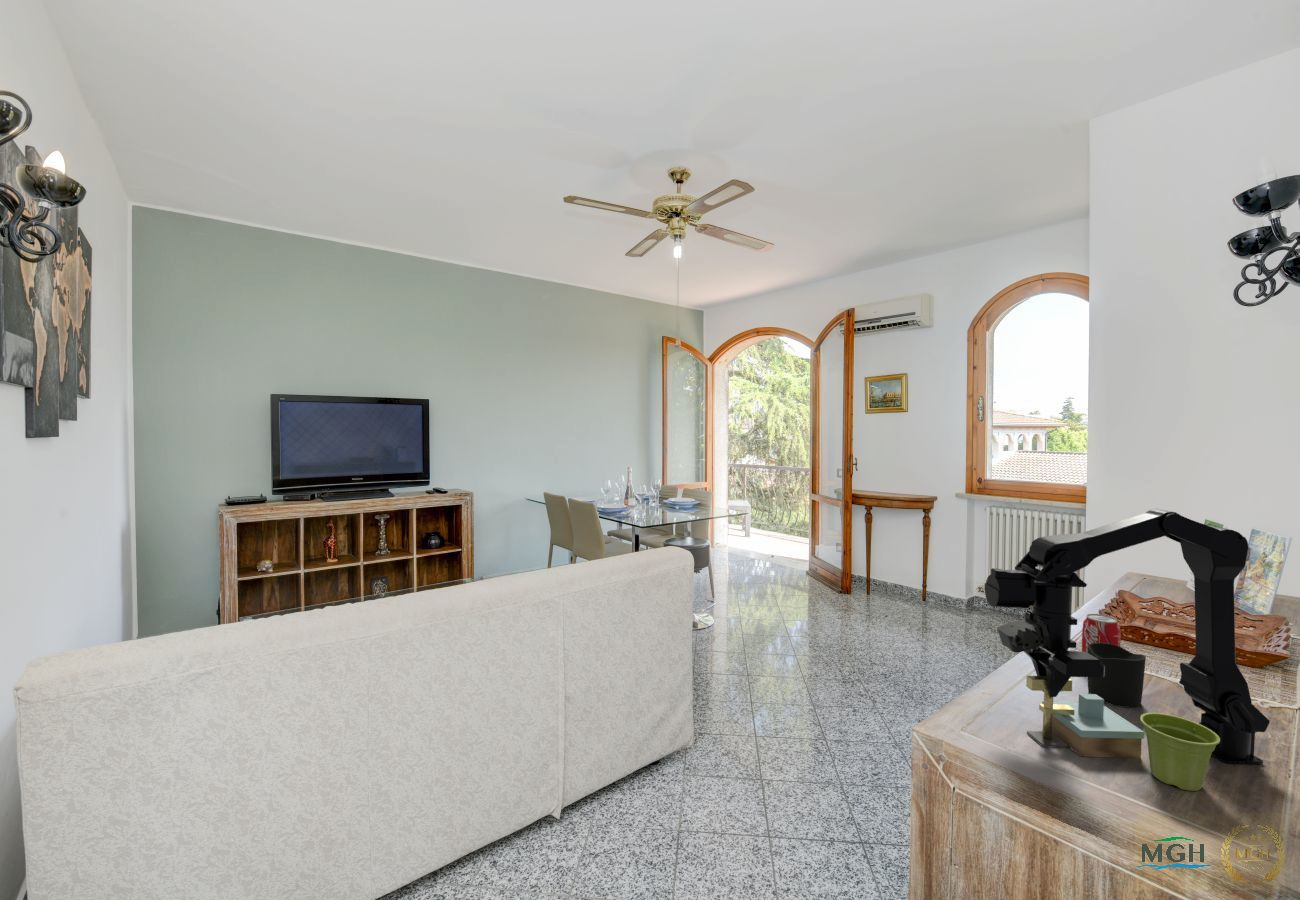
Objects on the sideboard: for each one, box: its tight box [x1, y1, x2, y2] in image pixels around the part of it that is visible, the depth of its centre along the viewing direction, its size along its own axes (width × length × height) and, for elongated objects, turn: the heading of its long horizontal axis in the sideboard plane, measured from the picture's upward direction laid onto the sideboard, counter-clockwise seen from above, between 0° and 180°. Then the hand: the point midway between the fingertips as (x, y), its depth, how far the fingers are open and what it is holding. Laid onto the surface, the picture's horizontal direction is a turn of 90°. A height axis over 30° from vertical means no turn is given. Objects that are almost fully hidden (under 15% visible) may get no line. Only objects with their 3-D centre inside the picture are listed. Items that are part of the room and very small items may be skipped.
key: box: [1025, 675, 1074, 740], centre depth 103 cm, size 8×2×11 cm, turn 88°
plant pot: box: [1139, 712, 1220, 792], centre depth 92 cm, size 9×9×9 cm
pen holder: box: [1087, 643, 1147, 708], centre depth 119 cm, size 9×9×10 cm
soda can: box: [1081, 613, 1122, 653], centre depth 134 cm, size 7×7×12 cm
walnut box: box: [1026, 716, 1143, 759], centre depth 103 cm, size 15×10×4 cm
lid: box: [1041, 693, 1145, 739], centre depth 103 cm, size 10×10×5 cm
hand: (1048, 694), depth 103 cm, fingers closed on key, 2 cm apart
